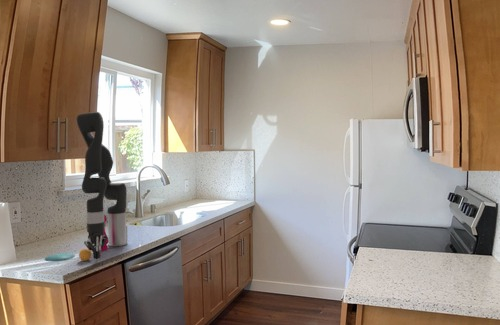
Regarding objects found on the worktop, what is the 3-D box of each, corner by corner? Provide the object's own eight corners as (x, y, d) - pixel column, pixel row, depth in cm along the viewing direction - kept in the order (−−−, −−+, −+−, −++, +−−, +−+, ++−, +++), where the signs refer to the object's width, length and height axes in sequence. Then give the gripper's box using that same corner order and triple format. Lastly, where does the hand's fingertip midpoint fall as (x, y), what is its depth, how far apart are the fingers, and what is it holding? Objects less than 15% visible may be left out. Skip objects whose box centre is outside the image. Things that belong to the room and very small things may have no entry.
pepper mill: (103, 247, 215) (102, 209, 214) (111, 249, 210) (110, 210, 209) (90, 250, 209) (89, 211, 208) (98, 252, 205) (97, 212, 204)
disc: (61, 252, 205) (61, 252, 205) (80, 255, 200) (80, 254, 200) (38, 259, 193) (38, 259, 193) (58, 262, 188) (58, 261, 188)
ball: (85, 258, 194) (85, 246, 194) (94, 259, 192) (94, 247, 192) (76, 261, 189) (76, 249, 189) (85, 262, 187) (85, 250, 187)
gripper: (99, 218, 195) (100, 254, 196) (78, 223, 183) (79, 262, 184) (112, 219, 192) (113, 255, 193) (91, 224, 180) (92, 263, 181)
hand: (96, 258), depth 188 cm, fingers closed
